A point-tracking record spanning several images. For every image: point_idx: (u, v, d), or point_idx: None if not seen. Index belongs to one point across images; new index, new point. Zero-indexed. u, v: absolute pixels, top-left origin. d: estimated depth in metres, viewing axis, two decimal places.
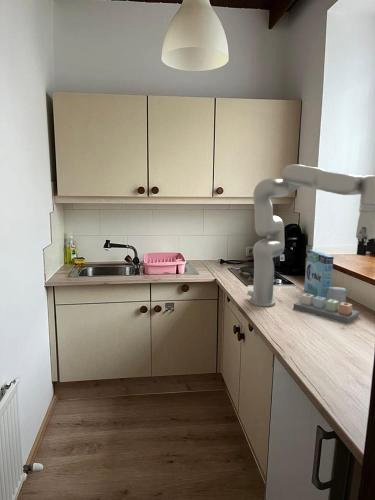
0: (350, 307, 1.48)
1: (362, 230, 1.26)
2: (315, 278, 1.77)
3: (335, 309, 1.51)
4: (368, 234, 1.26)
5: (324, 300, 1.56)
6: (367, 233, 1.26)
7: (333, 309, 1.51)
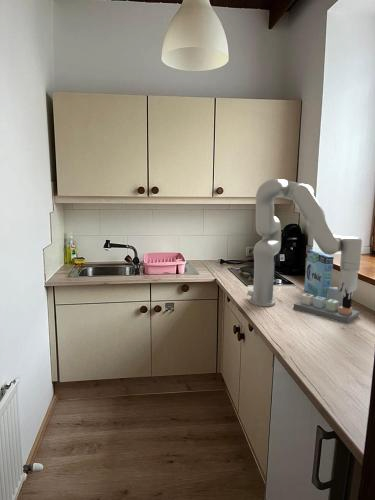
0: (350, 310, 1.48)
1: (343, 289, 1.44)
2: (315, 278, 1.77)
3: (335, 309, 1.51)
4: (348, 289, 1.43)
5: (324, 300, 1.56)
6: (347, 288, 1.43)
7: (333, 309, 1.51)
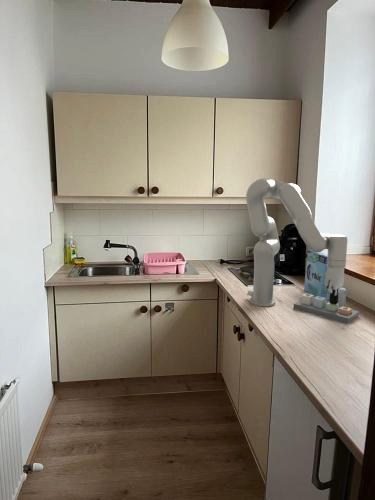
0: (350, 311, 1.48)
1: (330, 286, 1.48)
2: (315, 278, 1.77)
3: None
4: (334, 286, 1.47)
5: (324, 300, 1.56)
6: (333, 285, 1.47)
7: None
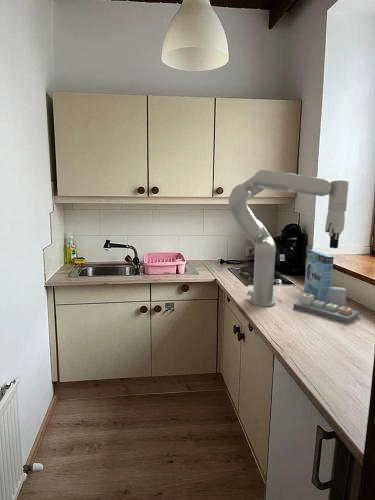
0: (350, 311, 1.48)
1: (330, 229, 1.52)
2: (315, 278, 1.77)
3: None
4: (334, 228, 1.51)
5: (324, 304, 1.56)
6: (334, 228, 1.51)
7: None
